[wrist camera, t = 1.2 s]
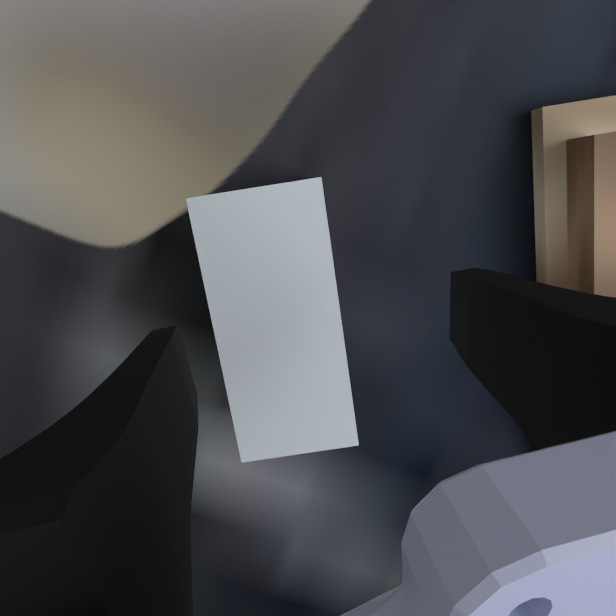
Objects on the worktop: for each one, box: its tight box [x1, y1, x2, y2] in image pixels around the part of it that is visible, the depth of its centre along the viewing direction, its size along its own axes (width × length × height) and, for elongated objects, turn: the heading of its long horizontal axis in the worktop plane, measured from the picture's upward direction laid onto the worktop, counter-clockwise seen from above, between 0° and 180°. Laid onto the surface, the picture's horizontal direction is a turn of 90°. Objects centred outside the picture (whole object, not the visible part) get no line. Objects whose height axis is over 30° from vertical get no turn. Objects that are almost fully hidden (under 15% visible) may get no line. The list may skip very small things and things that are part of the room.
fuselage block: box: [186, 177, 359, 462], centre depth 21 cm, size 11×5×5 cm, turn 9°
